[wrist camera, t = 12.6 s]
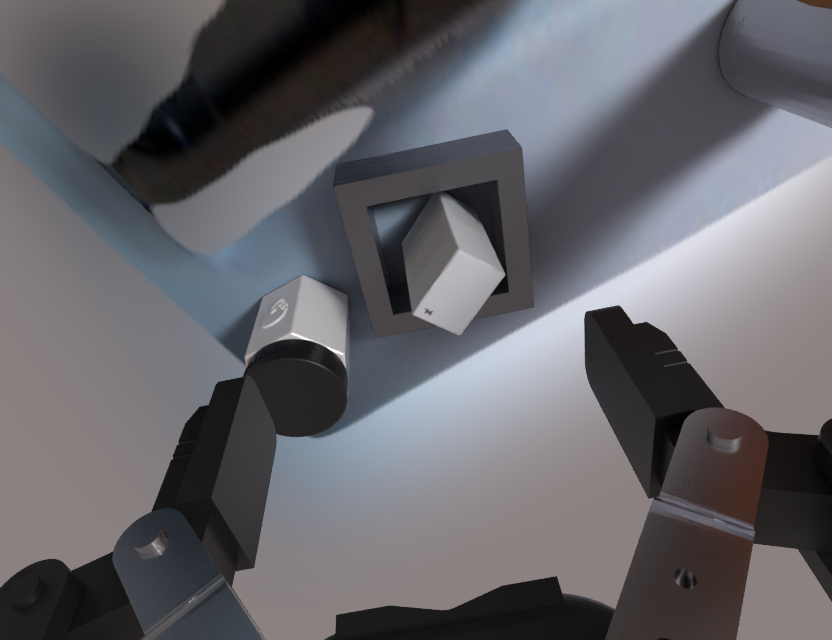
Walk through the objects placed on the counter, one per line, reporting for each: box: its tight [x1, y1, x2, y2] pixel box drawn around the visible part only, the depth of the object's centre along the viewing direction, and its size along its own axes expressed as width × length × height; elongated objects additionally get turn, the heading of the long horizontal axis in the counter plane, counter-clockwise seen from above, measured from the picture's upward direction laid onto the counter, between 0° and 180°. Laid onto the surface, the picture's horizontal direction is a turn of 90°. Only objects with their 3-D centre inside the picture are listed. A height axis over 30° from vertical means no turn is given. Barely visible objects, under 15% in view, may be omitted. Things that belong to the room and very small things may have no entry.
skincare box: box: [402, 191, 505, 336], centre depth 43 cm, size 6×4×12 cm
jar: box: [243, 275, 351, 437], centre depth 47 cm, size 9×8×12 cm
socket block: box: [333, 130, 534, 338], centre depth 46 cm, size 14×14×5 cm
